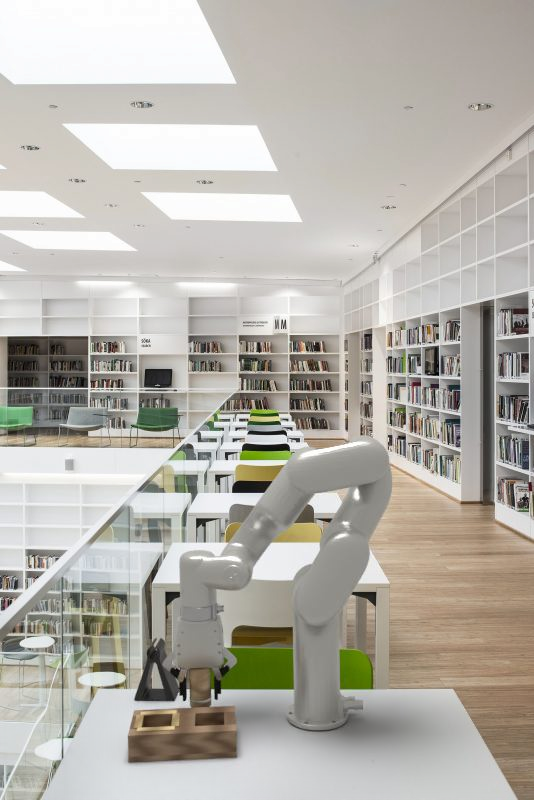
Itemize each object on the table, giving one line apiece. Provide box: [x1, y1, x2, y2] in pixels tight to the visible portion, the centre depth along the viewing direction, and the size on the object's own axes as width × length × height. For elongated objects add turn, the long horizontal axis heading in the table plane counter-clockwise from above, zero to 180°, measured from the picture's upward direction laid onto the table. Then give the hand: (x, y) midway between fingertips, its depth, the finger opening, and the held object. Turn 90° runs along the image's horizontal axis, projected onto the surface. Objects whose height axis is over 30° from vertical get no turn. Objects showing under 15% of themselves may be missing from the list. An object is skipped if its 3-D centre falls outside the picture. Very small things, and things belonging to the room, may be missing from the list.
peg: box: [188, 668, 212, 708], centre depth 162 cm, size 4×4×11 cm
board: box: [127, 705, 238, 763], centre depth 151 cm, size 20×11×5 cm, turn 94°
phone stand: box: [133, 637, 179, 702], centre depth 175 cm, size 9×6×12 cm, turn 86°
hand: (200, 697), depth 163 cm, fingers open, 5 cm apart
